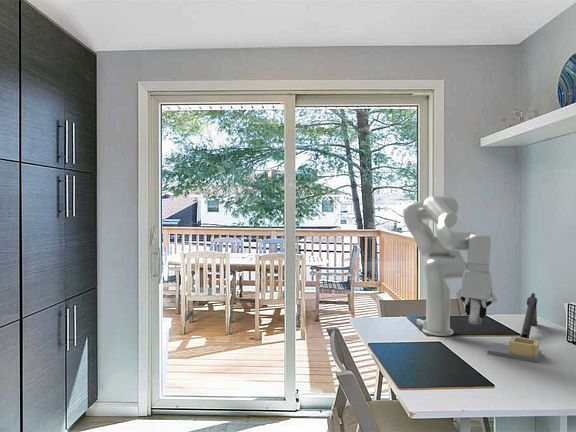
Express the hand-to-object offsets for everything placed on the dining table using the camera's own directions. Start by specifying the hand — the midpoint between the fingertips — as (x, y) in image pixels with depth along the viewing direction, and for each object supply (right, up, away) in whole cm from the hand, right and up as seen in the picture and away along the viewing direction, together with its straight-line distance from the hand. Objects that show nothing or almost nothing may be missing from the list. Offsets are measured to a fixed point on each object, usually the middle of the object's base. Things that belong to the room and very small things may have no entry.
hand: (475, 315), depth 166 cm
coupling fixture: (+13, -13, -4) cm, 19 cm away
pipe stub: (0, -3, 0) cm, 3 cm away
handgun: (+34, -13, +26) cm, 45 cm away
